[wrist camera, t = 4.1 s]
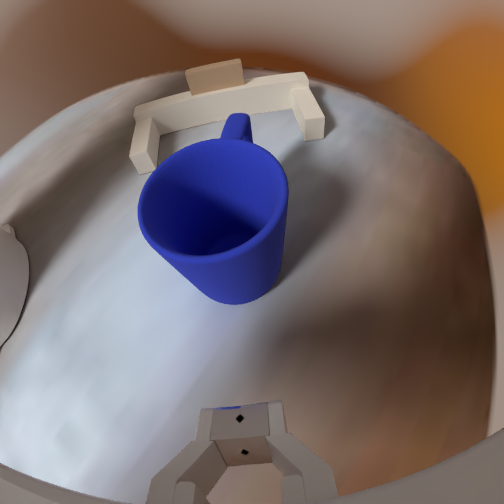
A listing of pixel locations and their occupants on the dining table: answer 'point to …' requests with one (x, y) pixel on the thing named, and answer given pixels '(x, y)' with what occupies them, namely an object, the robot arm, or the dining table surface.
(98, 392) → the dining table surface
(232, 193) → the mug
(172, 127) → the beige blocky open frame
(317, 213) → the dining table surface
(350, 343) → the dining table surface
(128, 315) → the dining table surface
